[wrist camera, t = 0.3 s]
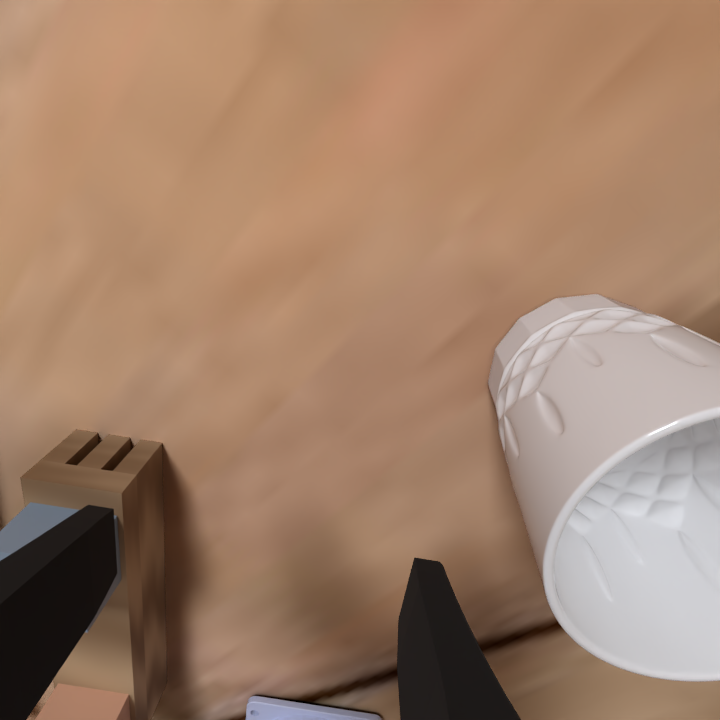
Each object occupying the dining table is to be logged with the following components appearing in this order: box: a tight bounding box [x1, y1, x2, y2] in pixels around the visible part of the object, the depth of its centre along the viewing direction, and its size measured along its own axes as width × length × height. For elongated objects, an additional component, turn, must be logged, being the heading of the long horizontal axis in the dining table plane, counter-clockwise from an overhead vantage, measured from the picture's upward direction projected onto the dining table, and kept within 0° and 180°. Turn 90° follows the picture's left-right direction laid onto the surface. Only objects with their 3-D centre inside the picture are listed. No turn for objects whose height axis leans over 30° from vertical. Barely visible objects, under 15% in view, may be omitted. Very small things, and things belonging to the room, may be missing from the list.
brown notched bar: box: [20, 429, 167, 720], centre depth 24 cm, size 17×4×4 cm, turn 172°
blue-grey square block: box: [0, 502, 121, 633], centre depth 19 cm, size 4×4×2 cm
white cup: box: [488, 294, 720, 682], centre depth 15 cm, size 8×8×10 cm
